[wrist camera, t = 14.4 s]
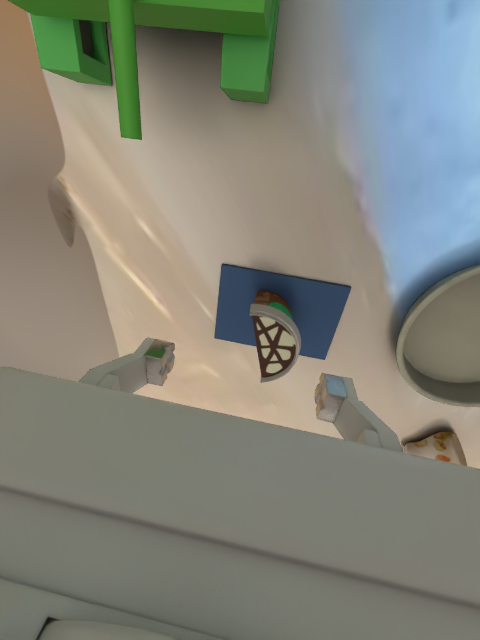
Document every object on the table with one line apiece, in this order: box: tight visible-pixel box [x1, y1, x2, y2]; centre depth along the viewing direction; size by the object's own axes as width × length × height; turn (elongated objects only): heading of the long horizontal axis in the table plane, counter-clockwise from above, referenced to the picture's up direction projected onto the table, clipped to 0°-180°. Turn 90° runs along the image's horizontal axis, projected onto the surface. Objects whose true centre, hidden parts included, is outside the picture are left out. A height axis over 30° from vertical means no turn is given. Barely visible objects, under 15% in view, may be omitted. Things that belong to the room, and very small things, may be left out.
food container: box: [250, 290, 301, 383], centre depth 41 cm, size 12×6×10 cm, turn 9°
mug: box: [404, 432, 467, 466], centre depth 52 cm, size 8×10×10 cm
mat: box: [215, 264, 351, 360], centre depth 46 cm, size 20×14×1 cm
